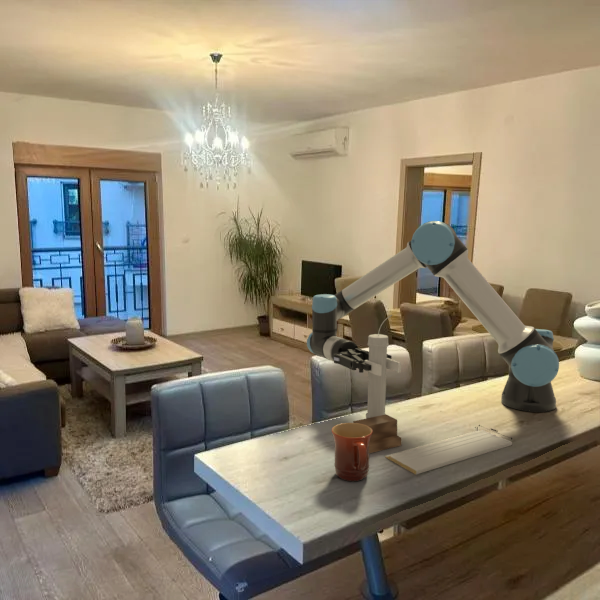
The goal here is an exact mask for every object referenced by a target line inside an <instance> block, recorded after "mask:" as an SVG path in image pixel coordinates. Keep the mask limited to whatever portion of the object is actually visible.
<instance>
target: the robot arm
mask: <svg viewBox="0 0 600 600" xmlns="http://www.w3.org/2000/svg"><path fill="white" fill-rule="evenodd" d="M414 231H415V232H413V234H412V238H411V239H410V240H409V241H407V244H406V247H405V248H404V249H401V250H400V251H398V252H397V253H396V254H394V255H392V257H389V258H388V259H387V260H385V261H384V262H382V263H380V264H379V265H378V266H376V267H375V268H373V269H371V270H370V271H369V272H367V273H366V274H364V275H363V276H361V277H360V278H358V279H357V280H355V281H353V282H352V283H350V284H349V285H347V286H346V287H345V288H343V289H342V290H339V292H337V293H335V294H329V293H328V294H327V293H323V294H322V293H321V294H316V295H313V297H312V305H311V309H312V311H311V312H312V313H311V314H312V332H311V333H310V334H309V335H308V337H307V339H306V347H307V349H308V350H309V352H310V353H312V354H314V355H316V356H317V357H320V358H323V359H325V360H328V361H331V362H333V363H334V364H337V365H340V366H343V367H345V368H346V369H350V370H352V371H357V369H358V372H359V373H364V371H365V372H370V373H373V374H375V375H378V376H381V372H382V365H379V364H377V363H374V362H371V361H369V350H366V349H362V348H359V347H358V346H357V344H356V343H355V342H354V341H352V340H349V339H345V338H344V337H340V336H337V335H338V334H337V328H338V327H337V325H338V324H337V321H338V320H340V319H342V318H344V317H346V316H347V315H348V314H349V313H351V312H353V311H354V310H356V309H357V308H359V307H360V306H363V304H366V302H368V301H371V299H372V298H374V297H376V296H378V295H379V294H381V293H382V292H384V291H385V290H387V289H389V288H390V287H392V286H393V285H396V283H398V282H400V281H401V280H402V279H404V278H406V277H407V276H409V275H410V274H413V273H414V272H415V271H416V270H419V269H421V268H422V269H426V268H427V269H428V270H429V271H430V272H431V273H432V275H433V276H434V277H436V278H437V277H438V278H442V279H444V281H445V282H446V283H447V284H448V285H449V287H450V288H451V289H452V291H453V292H454V293H455V294H456V295H457V296H458V298H460V300H461V301H462V302H463V304H464V305H466V306H465V307H467V308H468V309H469V310H470V312H471V313H472V314H473V316H474V317H475V318H476V319H477V320H478V321H479V323H480V324H481V325H482V326H483V327H484V329H485V330H486V331H487V332H488V334H490V336H491V337H492V338H493V339H494V341H496V344H498V348H497V352H498V354H499V355H500V357H501V358H502V359H503V360H504V362H505V363H506V364H507V365H508V376H507V377H508V378H507V381H506V383H505V385H504V388H503V391H502V392H501V403H502V404H503V405H504V406H506V407H509V408H510V409H512V410H513V409H514V410H518V411H523V412H530V413H532V412H533V413H546V412H551V411H554V410H555V409H556V407H557V398H556V397H555V392H554V388H553V385H552V382H553V380H554V379H555V378H556V377H557V375H558V373H559V369H560V359H559V357H558V355H557V353H556V352H555V350H554V340H555V338H554V333H553V331H552V330H549V329H543V328H542V329H541V328H540V329H539V328H535V327H534V326H531V325H525V324H524V323H523V321H522V320H521V319H520V318H519V317H518V316H517V314H516V313H515V312H514V311H513V310H512V308H511V307H510V306H509V305H508V304H507V303H506V302H505V300H504V299H503V298H502V297H501V296H500V294H499V293H498V292H497V291H496V290H495V289H494V287H493V286H492V285H491V284H490V283H489V281H488V280H487V279H486V278H485V277H484V276H483V274H482V273H481V272H480V271H479V270H478V268H477V267H476V266H475V265H474V263H473V262H472V261H471V260H470V258H469V257H468V256H469V248H468V247H467V246H466V245H465V244H464V243H463V242H462V241H461V239H460V238H459V237H458V235H457V233H456V230H455V229H454V228H453V227H452V226H451V225H449V224H448V223H446V222H442V221H438V220H431V221H425V222H424V223H422V224H421V225H419V226H418V228H416V230H414ZM392 358H393V357H392V355H391V354H388V353H387V363H386V370H389V371H393V372H395V373H398V374H399V373H400V374H401V373H402V372H401V365H402V362H401V361H398V360H395V359H392Z"/></svg>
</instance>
